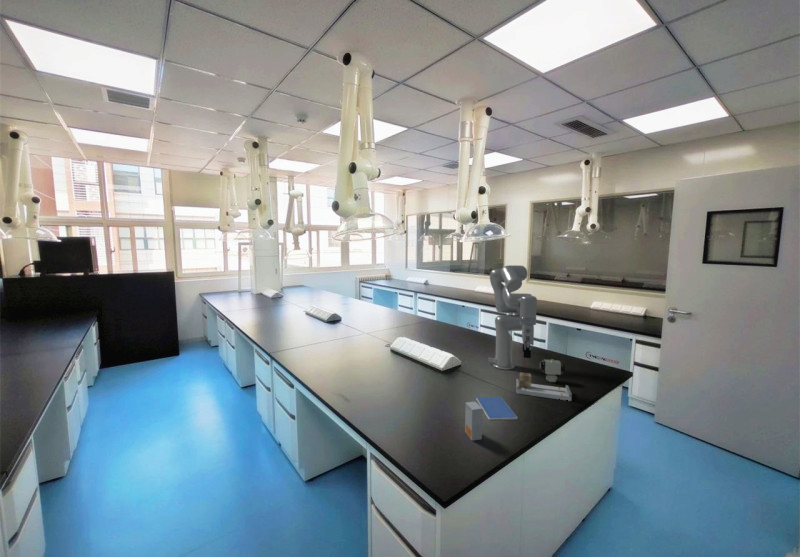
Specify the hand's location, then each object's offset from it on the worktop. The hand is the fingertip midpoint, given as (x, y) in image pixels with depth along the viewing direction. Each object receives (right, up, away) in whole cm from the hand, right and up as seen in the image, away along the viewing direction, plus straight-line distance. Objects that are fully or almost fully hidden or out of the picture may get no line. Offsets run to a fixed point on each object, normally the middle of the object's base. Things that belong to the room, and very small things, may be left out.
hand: (526, 354), depth 157 cm
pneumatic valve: (+19, -18, +14) cm, 29 cm away
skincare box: (-35, -22, -38) cm, 56 cm away
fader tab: (0, -16, +1) cm, 16 cm away
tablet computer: (-20, -21, -17) cm, 34 cm away
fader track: (+7, -19, -1) cm, 20 cm away
